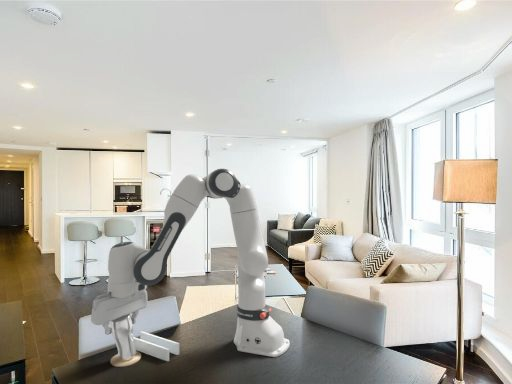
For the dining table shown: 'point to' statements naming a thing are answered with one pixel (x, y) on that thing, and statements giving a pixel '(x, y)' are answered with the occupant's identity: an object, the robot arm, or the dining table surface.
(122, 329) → the beer glass
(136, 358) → the cork coaster
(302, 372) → the dining table surface
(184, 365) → the dining table surface
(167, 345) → the low plastic fence
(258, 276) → the robot arm
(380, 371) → the dining table surface
